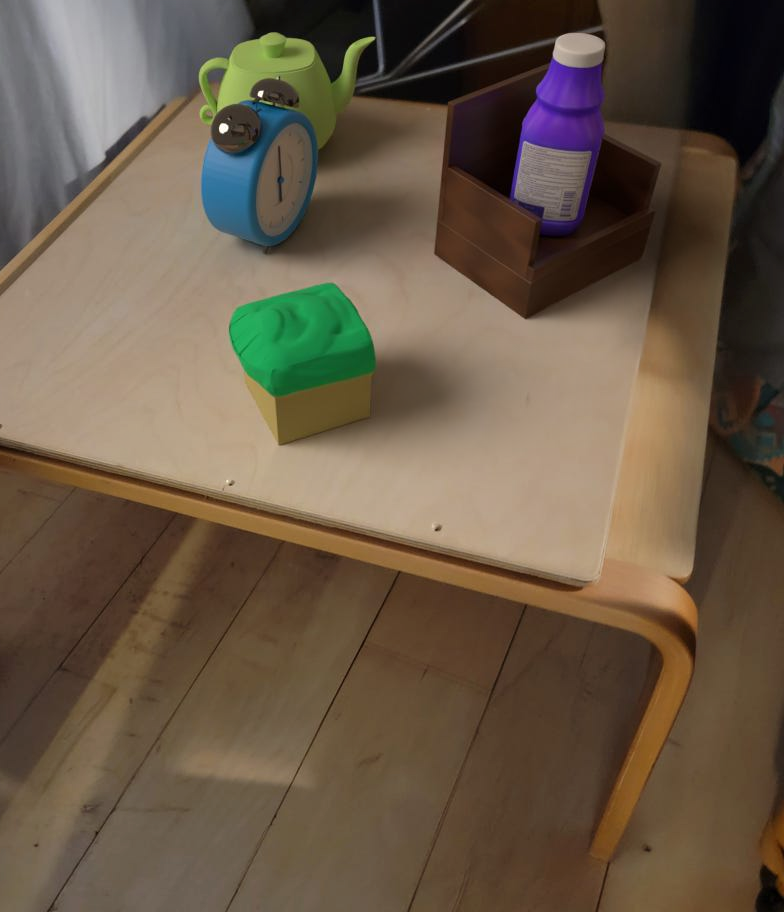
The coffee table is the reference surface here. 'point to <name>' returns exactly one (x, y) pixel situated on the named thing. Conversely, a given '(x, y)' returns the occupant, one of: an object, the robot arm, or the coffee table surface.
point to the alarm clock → (260, 166)
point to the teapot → (285, 78)
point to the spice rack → (516, 229)
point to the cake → (305, 360)
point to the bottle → (562, 136)
